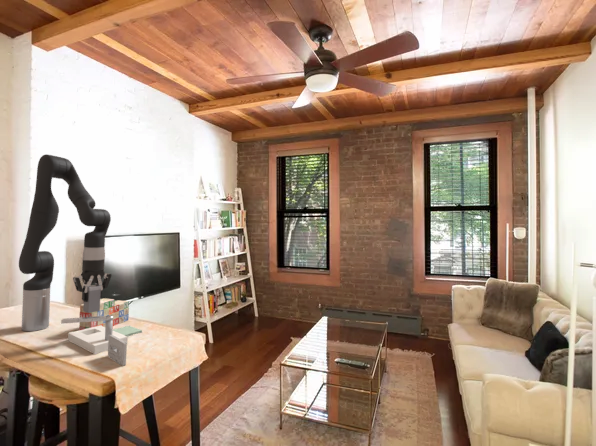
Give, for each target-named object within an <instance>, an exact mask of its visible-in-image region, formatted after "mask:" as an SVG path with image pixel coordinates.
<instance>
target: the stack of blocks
mask: <svg viewBox="0 0 596 446" xmlns="http://www.w3.org/2000/svg"><path fill="white" fill-rule="evenodd" d="M83 306H84V303H82V304H80V306H79V318H82V317H98V316H110V315H112V316H113V327H114V326H116V325H119V324H122V323H125V322H127V321H129V318H130V317H129V316H130V315H129V314H130V313H129V312H130V310H129V309H130V308H129V306H130V305H129V301H128V300H120V299H119V300H118V299H117V300H115V299H114V298H106V297H105V298H101V299H100V311H96V312H91V313H87V312H84V311H83ZM105 323H106V321H93V322H79V326H78V327H79V330H83V329H87V328H92V327H96V326H100V325H101V326H103V327H105ZM79 330H78V331H79Z"/></svg>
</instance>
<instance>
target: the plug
mask: <svg viewBox="0 0 596 446" xmlns="http://www.w3.org/2000/svg"><path fill="white" fill-rule="evenodd" d="M100 293H101V286H98V285H95V284H91V285H90V287H89V288H88V301H87V302H84V301H83V304H84V306H83V311H84V312H87V313H91V312H96V311H100Z"/></svg>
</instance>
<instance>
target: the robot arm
mask: <svg viewBox="0 0 596 446" xmlns="http://www.w3.org/2000/svg"><path fill="white" fill-rule="evenodd" d="M54 178H55V179H59V180H60V179H62V180H63V181H64V182H65V183H66V184H67V185H68V186H67V187H68V188H67V196H68V199H69V200H70V202H71V203H72V204H73V206H74V207H75V208H76V212H77V214H78V215H77V216H78V218H79V221H80V222H81V224H83V225H84V226H86V227H94V229H93V230H92V231H89V232H86V233H85V235H84V238H83V239H84V241H83V251H82V265H81V270H82V272H81V273H80V275H78V276H74V277H72V280H73V283H74V286H75V289H76V291H77V292H80V293H81V300H82V301H83V303H84V302H87V301H88V288H89V287H90V285H98V286H101V293H100V299H103V298H102V297H103V290H104V289H107V288H108V287H109V284H110V281H111V278H112V273H107V272H105V270H104V269H105V261H106V249H105V248H106V247H105V246H106V236H107V233H108V231H109V230H108V229H109V227H110V224H111V220H112V219H111V218H112V217H111V214H110V212H109V211H108V210H106V209H104V208H103V209H102V208H95V207H96V201H95V199H94V198H93V197H92V196H91V194H90V192H88V190H87V189H86V187H85V186H84V185H83V183H82V180H81V178H80V176H79V174H78V172H77V170H76V168H75V166H74V165H73V163H72V162H71V160H70V159H67V158H65V157H61V156H56V155H52V154H43V155H41V156H40V158H39V160H38V163H37V168H36V181H35V189H34V190H35V192H34V196H33V202H32V206H31V210H30V214H29V215H30V216H29V222H28V227H27V230H26V231H27V232H26V236H25V239H24V243H23V245H22V249H21V252H20V256H19V258H18V268H19V271H20V272H21V274H24V275H31V274H34V275H33V277H31V278H30V279H29V280H27V281H25V282H24V283H23V284H22V285H23V286H22V306H21V307H22V311H21V312H22V313H21V330H22V331H23V332H34V331H35V332H37V331H40V330H44V329H47V328H49V326H50V310H51V309H50V306H51V305H50V304H51V285H52V282H53V279H54V277H53V276H54V269H55V257H54V256H53V254H52V252H50V251H46V250H41V251H40V247H41V245H42V243H43V242H44V240H45V239H46V237H48V235H49V234H50V233H51V232H52V231H53V230H54V228H55V227H56V225H57V222H58V218H59V212H60V209H59V205H58V202H57V200H56V198H55V196H54V194H53V191H52V180H53V179H54ZM103 278H104V279H103ZM102 279H103V281H102ZM82 280H83V283H82Z"/></svg>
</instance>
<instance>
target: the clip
mask: <svg viewBox="0 0 596 446" xmlns="http://www.w3.org/2000/svg"><path fill="white" fill-rule="evenodd" d="M110 320H113V316H112V315H110V316H98V317H82V318H80V317H68V318H62V319H61V320H60V321H61V322H60V324H63V325H64V324H73V323H74V324H75V323H76V324H77V323H80V322H93V321H110Z"/></svg>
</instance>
